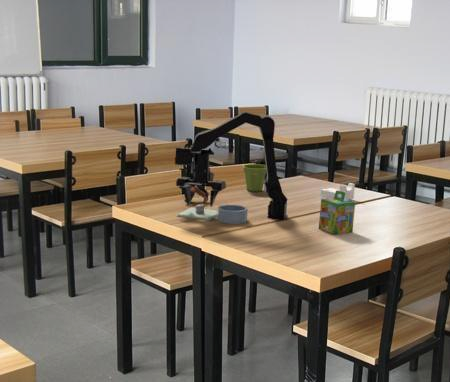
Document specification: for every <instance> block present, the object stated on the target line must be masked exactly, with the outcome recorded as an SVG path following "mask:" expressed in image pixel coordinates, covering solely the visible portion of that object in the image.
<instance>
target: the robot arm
mask: <svg viewBox="0 0 450 382" xmlns="http://www.w3.org/2000/svg"><path fill="white" fill-rule="evenodd" d="M245 124H248V125H251V126H255V127H258V129H259V132H260V135H261V138H262V141H263V142H262V143H263V144H262V145H263V150H264V151H263V152H264V159H265V160H264V161H265V166H266V170H267V171H266V177H265V179H264V180H263V182H264V184H263V190H264V192H265V193H266V194H267V196H268V197H269V198H270V199H271V200H269V204H268V206H267V218H268V219H269V218H270V219H278V220H285V219H286V218H287V217H288V214H287V210H288V209H287V208H288V198H287V196H286V195H285V193H284V192H283V189H282V186H281V183H280V180H279V176H278V172H277V171H278V170H277V162H276V155H275V152H276V151H275V142H274V137H275V125H276V123H275V120H274V119H273V118H272V117H271V116H270V115H266V114H264V115H259V114H253V113H249V112H247V111H242V112H241V113H239V114H238V115H236V116H234V117H232V118H231V119H229V120H226V121H225V122H223V123H221V124H220V125H218V126H216V127H214V128H210V129H207V130H203V131H201V132H198V133H197V134H196V135H195V137H194V141H193V142H192V144H191V145H190V146H189V147H181V146H176V147H175V155H174V165H175V166H190V165H191V164H192V163H193V168H192V172H193V179H192V178H191V177H187V176H180V177H179V178H177V179H176V181H175V186H176V187H179V189H181V191H182V193H183V195H185V196H184V198H185V197H186V199H187V202H186V203H187V204H188V205H190V204H191V202H192V200H191V194H190V190H191V188H192V186H195V185H197V186H201V187H208V188H211V189H210V193H209V196H210V197H209V198H210V200H209V205H210V208H212V207H213V205H214V204H215V200H216V198H217V196H218V194H219V192H221V191H223V190H225V189H226V187H227V183H226V182H225V181H224V180H214V177H215V173H214V172H212V171H211V167H210V156H211V155H212V156H214V155H215V151H213V149H211V147H210V146H211V145H212V144H214V143H215V142H216V140H218V139H219V138H221V137H222V136H225V135H226V134H228V133H229V132H232V131H233V130H235V129H238V128H239V127H241V126H243V125H245ZM208 147H209V148H208ZM193 155H194V156H193ZM193 158H194V159H193Z"/></svg>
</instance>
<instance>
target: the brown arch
mask: <svg viewBox="0 0 450 382" xmlns="http://www.w3.org/2000/svg"><path fill="white" fill-rule="evenodd" d="M190 194H191V201H193V198H194V196H195V195H196V194H197V195H198V196H200V197H201V198H203V201H202V204H206V203H207V202H208V201H209V196H210V193H209V191H208V190H206V189H205V188H203V186H197V185H193V186H191V190H190ZM183 195H184V194H183ZM184 202H185V203H188V202H187V199H186V197H185V195H184Z"/></svg>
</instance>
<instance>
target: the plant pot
mask: <svg viewBox="0 0 450 382" xmlns="http://www.w3.org/2000/svg"><path fill="white" fill-rule="evenodd" d="M242 168H243V171H244V176H245V185H246V190H247V191H249V192H254V191H256V192H262V191H263V190H264V182H263V180H266V175H267V170H266V164H257V163H255V164H253V163H251V164H250V163H249V164H244V165H242ZM261 190H262V191H261Z"/></svg>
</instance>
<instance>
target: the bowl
mask: <svg viewBox="0 0 450 382" xmlns="http://www.w3.org/2000/svg"><path fill="white" fill-rule="evenodd" d="M248 209H249V208H247V207H246V206H243V205H240V204H239V205H238V204H221V205H219V206H217V210H216V211H217V217H216V218H217V219H216V220H217V221H218V222H220V223H223V224H229V225H231V224H232V225H233V224H235V225H236V224H237V225H239V224H244V223H246V222H247V221H248Z"/></svg>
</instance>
